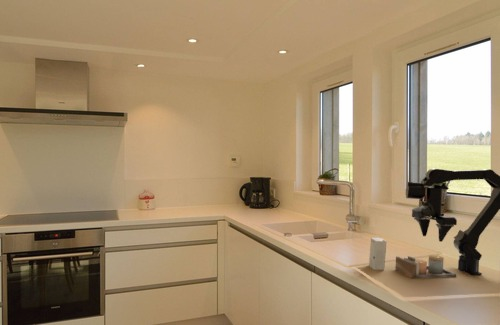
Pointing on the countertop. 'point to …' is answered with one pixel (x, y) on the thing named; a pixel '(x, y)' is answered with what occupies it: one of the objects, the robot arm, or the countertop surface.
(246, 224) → the countertop surface
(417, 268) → the pusher
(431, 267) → the slate jar
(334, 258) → the countertop surface
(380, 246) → the skincare box
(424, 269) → the jar
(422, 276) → the lane
